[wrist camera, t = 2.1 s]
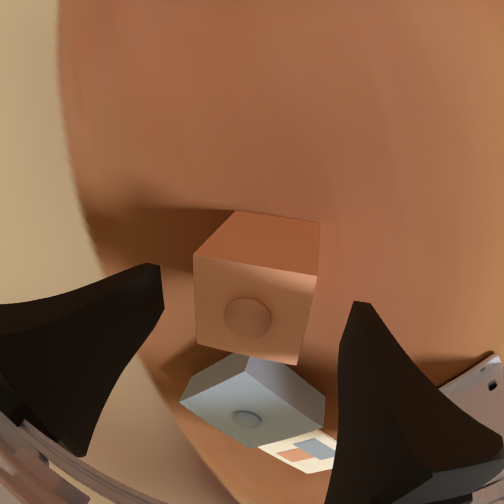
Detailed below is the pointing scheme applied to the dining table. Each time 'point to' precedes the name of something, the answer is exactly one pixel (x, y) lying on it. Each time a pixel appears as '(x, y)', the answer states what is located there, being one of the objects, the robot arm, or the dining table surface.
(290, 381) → the base brick
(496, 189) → the dining table surface
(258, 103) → the dining table surface
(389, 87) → the dining table surface
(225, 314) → the top brick
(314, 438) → the page
